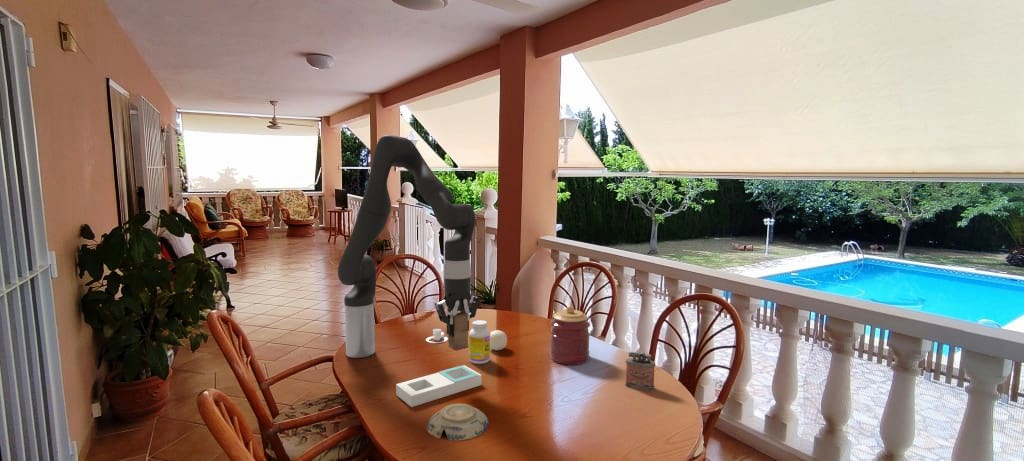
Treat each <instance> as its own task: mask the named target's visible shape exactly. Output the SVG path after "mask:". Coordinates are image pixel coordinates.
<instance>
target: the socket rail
mask: <svg viewBox="0 0 1024 461" xmlns="http://www.w3.org/2000/svg"><path fill="white" fill-rule="evenodd" d="M482 376H483V375H482V374H480V372H477V371H475V370H474V369H473V368H470V367H468V366H467V365H465V364H464V365H458V366H455V367H452V368H446V369H443V370H440V371H438V372H435V373H431V374H428V375H425V376H421V377H417V378H413V379H411V380H407V381H404V382H403V381H402V382H399V383H396V384H395V388H396V389H395V391H396V392H395V394H396V395H395V396H397V397H398V398H400V399H401V400H402V401H403V402H404V403H405V404H406V405H408V406H409V407H410V408H414V407H416V406H417V407H418V406H420V405H423V404H425V403H428V402H432V401H436V400H438V399H441V398H444V397H448V396H452V395H455V394H457V393H460V392H464V391H467V390H470V389H472V388H476V387H479V386H482V382H483V380H482Z"/></svg>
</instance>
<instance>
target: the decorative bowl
mask: <svg viewBox="0 0 1024 461" xmlns="http://www.w3.org/2000/svg"><path fill="white" fill-rule="evenodd" d="M489 424H490V422H489V418H488V417H487V415H486V414H485V413H484V412H483V411H481V410H480V409H479V408H478V407H477V408H476V407H474V406H473V405H470V404H467V403H453V404H448V405H446V406H444V407H443V408H441V409H440V410H438V411H437V412H435V413H434V414H433V415H432V416H431V417H430V419H429V420H428V421H427V422H426V426H427V427H426V430H428V431H427V433H429V434H430V435H431V436H434V438H435V437H436V438H438V439H441V438H442V435H443V432H445V434H446V438H447V441H463V440H464V441H466V440H469V439H473V438H476V437H478V436H480V435H481V434H483V433H484V432H485V431H487V429H488V427H489V426H490V425H489Z"/></svg>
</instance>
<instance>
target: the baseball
mask: <svg viewBox="0 0 1024 461" xmlns="http://www.w3.org/2000/svg"><path fill="white" fill-rule="evenodd" d="M507 343H508V336H507V335H506V333H505V332H504V331H502V330H499V329H497V330H496V329H495V330H492V331H491V332H490V350H491V349H492V350H493V351H501V350H504V348H505V347H506V345H507Z"/></svg>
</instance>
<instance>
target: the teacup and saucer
mask: <svg viewBox="0 0 1024 461" xmlns="http://www.w3.org/2000/svg"><path fill="white" fill-rule="evenodd" d="M445 335H446V334H445V332H444V331H442V329H441V328H434V329H432V336H428V337H427V338H425V341H426V342H427V343H429V344H441V343H445V342H448V336H445ZM441 338H442V339H444V340H442V341H441ZM431 339H433V340H434V341H431ZM429 340H430V341H429Z"/></svg>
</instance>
